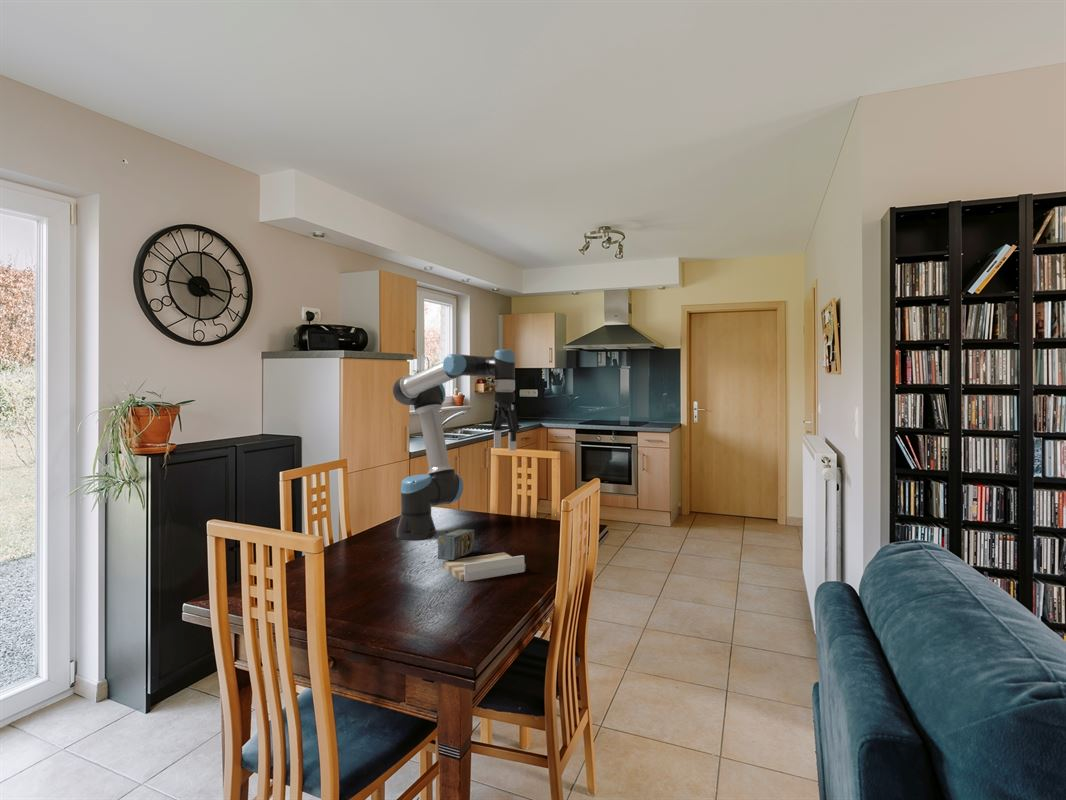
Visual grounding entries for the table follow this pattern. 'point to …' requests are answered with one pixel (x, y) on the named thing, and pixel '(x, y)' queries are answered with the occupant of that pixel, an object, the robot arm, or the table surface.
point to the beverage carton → (455, 544)
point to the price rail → (493, 568)
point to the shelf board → (458, 564)
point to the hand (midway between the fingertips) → (504, 449)
